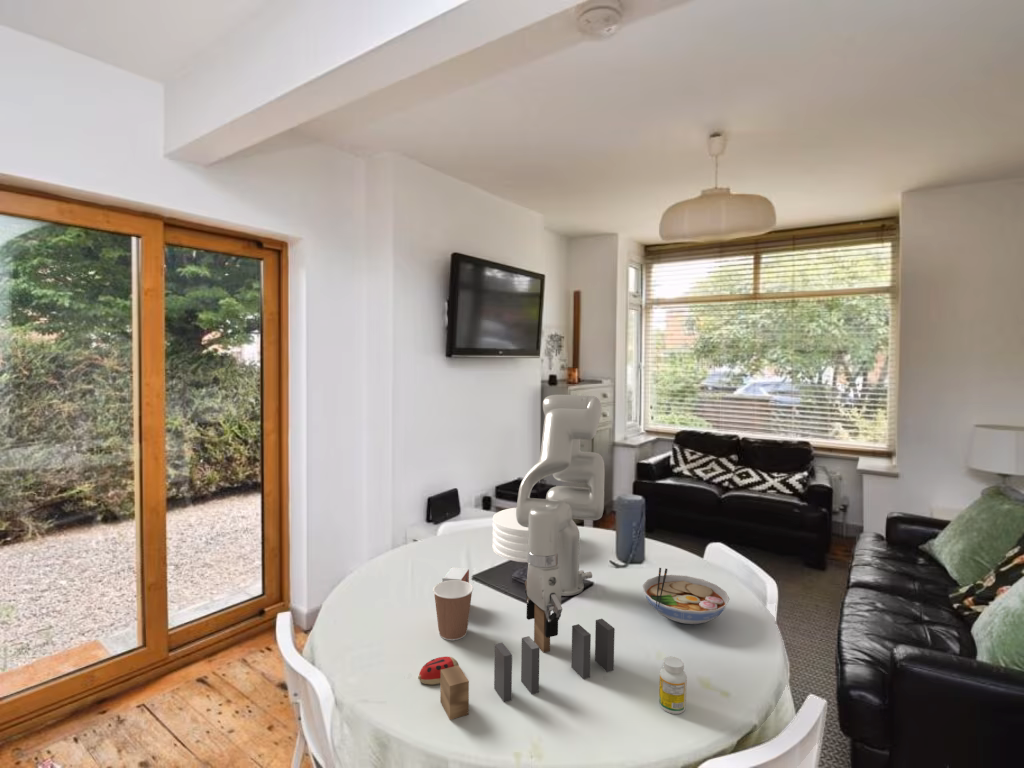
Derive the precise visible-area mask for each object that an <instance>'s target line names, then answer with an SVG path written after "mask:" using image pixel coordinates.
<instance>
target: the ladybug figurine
mask: <svg viewBox="0 0 1024 768" xmlns="http://www.w3.org/2000/svg"><path fill="white" fill-rule="evenodd" d="M458 665H459V662H458V661H457V660H456V659H455V658H454V657H451V656H441V657H435V658H434V659H430V660H429V661H428V662H426V663H425V664H424V665H423V666H422V667H421V669H420V671H419V675H417V679H418V680H419V681H420V683H422V684H424V685H430V686H433V685H434V686H435V685H440V681H441V670H442V669H446V668H450V667H454V666H458ZM459 666H460V665H459Z"/></svg>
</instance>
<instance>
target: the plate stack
mask: <svg viewBox="0 0 1024 768" xmlns="http://www.w3.org/2000/svg"><path fill="white" fill-rule="evenodd" d="M516 508H517V507H511V508H506V509H503V510H499V511H497V512H496V513H495V514H493V516H492V551H493V552H494V554H496V555H497V556H499V557H501V558H503V559H504V560H505V559H506V560H508V561H513V562H517V563H528V527H523V526H521V525H520V524H519V523H518V521H517V518H516Z"/></svg>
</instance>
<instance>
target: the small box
mask: <svg viewBox="0 0 1024 768" xmlns="http://www.w3.org/2000/svg"><path fill="white" fill-rule="evenodd" d="M441 579H442V581H441V582H444V581H449V580H460V581H465V582H468V583H470V569H469V568H464V567H463V568H461V567H450V568H449V570H448V571H447V573H446V574H445V575H444V576H443V577H442V578H441Z"/></svg>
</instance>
